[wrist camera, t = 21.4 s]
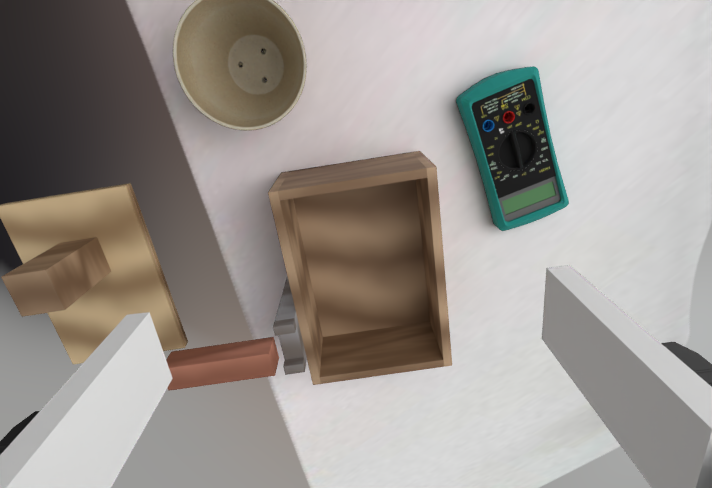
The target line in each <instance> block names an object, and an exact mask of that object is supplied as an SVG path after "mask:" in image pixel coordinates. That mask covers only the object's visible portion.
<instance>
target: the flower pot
mask: <svg viewBox="0 0 712 488" xmlns="http://www.w3.org/2000/svg"><path fill="white" fill-rule="evenodd" d="M262 49H263V52H262V53H261V50H262ZM173 61H174V67H175V72H176V75H177V78H178V80H179V83H180V85H181V87H182V89H183V91H184V93H185V94H186V96H187V97H188V99H189V100H190V101H191V103H192V104H193V105H194V106H195V107H196V108H197V109H198V110H199V111H200V112H201V113H202V114H203V115H205V116H206V117H207V118H209V119H210V120H212V121H214V122H216V123H218V124H220V125H222V126H225V127H228V128H231V129H236V130H256V129H262V128H265V127H268V126H270V125H273V124H274V123H276V122H278V121H279V120H281V119H282V118H283V117H285V116H286V115H287V114H288V113H289V112H290V111H291V110H292V108H293V107H294V106H295V104H296V103H297V101H298V99H299V97H300V95H301V93H302V90H303V87H304V83H305V79H306V68H307V65H306V54H305V49H304V45H303V41H302V38H301V36H300V34H299V31H298V30H297V28H296V26H295V24H294V22H293V21H292V19H291V18H290V17H289V15H288V14H287V13H286V12H285V11H284V10H283V9H282V8H281V7H280V6H279V5H278V4H277V3H275V2H274V1H273V0H196V1H194V2H193V3H192V4H191V5H190V6H189V7H188V9H187V10H186V11H185V13H184V14H183V16H182V17H181V19H180V21H179V23H178V26H177V29H176V32H175V36H174V42H173ZM240 65H242V67H239V66H240ZM264 78H266V79H267V81H265V79H264Z"/></svg>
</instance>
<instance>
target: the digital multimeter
mask: <svg viewBox="0 0 712 488" xmlns="http://www.w3.org/2000/svg"><path fill="white" fill-rule="evenodd" d="M456 103H457V105H458V108H459V111H460V114H461V116H462V119H463V122H464V125H465V127H466V130H467V133H468V136H469V139H470V142H471V145H472V148H473V151H474V154H475V157H476V160H477V163H478V167H479V170H480V174H481V177H482V180H483V184H484V187H485V191H486V195H487V199H488V203H489V207H490V211H491V215H492V219H493V223H494V224H495V225H496V226H497V227H498V228H499V229H500V230H502V231H505V230H509V229H512V228H515V227H519V226H522V225H525V224H528V223H531V222H533V221H536V220H539V219H541V218H543V217H546V216H548V215H550V214H552V213H554V212H556V211H559V210H561V209H563V208H565V207H566V206H567V205H568V203H569V201H568V197H567V194H566V190H565V187H564V183H563V180H562V177H561V173H560V170H559V166H558V163H557V159H556V155H555V151H554V147H553V143H552V139H551V135H550V130H549V125H548V120H547V115H546V110H545V105H544V100H543V94H542V89H541V83H540V77H539V71H538V69H537V68H536V67H525V68H519V69H512V70H508V71H504V72H500V73H496V74H494V75H492V76H489V77H487V78H485V79H483V80H481V81H479V82H478V83H476V84H475V85H473V86H471V87H470V88H469V89H467V90H466V91H465V92H463V93H462V94H461V95H459V96H458V97H457V99H456ZM475 121H476V122H475ZM516 130H517V131H516ZM524 130H525V131H524ZM478 131H479V132H478ZM527 131H528V132H527ZM486 158H487V159H486ZM510 170H511V171H510ZM518 170H519V171H518ZM494 185H495V186H494Z"/></svg>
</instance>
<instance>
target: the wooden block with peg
mask: <svg viewBox="0 0 712 488" xmlns="http://www.w3.org/2000/svg"><path fill="white" fill-rule="evenodd" d="M0 218H1V220H2V222H3V224H4V226H5V228H6V230H7V232H8V234H9V236H10V238H11V240H12V242H13V244H14V246H15V248H16V250H17V252H18V254H19V256H20V258H21V260H22V262H23V265H21V266H19V267H17V268H16V269H14V270H13V271H11V272H9V273H7V274H6V275H4V276H2V277H1V278H2V279H3V281H4V283H5V285H6V287H7V289H8V291H9V293H10V295H11V297H12V298H13V300H14V302H15V304H16V306H17V308H18V310H19V312H20V314H21V316H29V315H36V314H42V313H48V315H49V317H50V319H51V321H52V323H53V325H54V327H55V329H56V331H57V333H58V335H59V337H60V339H61V341H62V343H63V345H64V347H65V349H66V351H67V353H68V355H69V357H70V359H71V361H72V363H73V364H79V363H84V362H85V361H86V359H87V358H88V357H89V356H90V355H91V354H92V353H93V352H94V351H95V349H96V348H97V347H98V346H99V345H100V344H101V343H102V342H103V341H104V339H105V338H106V337H107V336H108V335H109V334H110V333H111V332H112V331H113V329H114V328H115V327H116V326H117V325H118V324H119V323H120V322H121V321H122V319H123V318H124V317H125V316H126V315H129V314H138V313H147V312H150V315H151V318H152V321H153V324H154V327H155V330H156V332H157V335H158V338H159V341H160V344H161V347H162V349H163V351H167V350H173V349H180V348H185V346H186V345H187V343H188V340H187V337H186V334H185V331H184V329H183V326H182V323H181V320H180V318H179V315H178V312H177V309H176V307H175V304H174V301H173V298H172V296H171V293H170V290H169V287H168V284H167V282H166V279H165V276H164V273H163V271H162V268H161V265H160V262H159V260H158V257H157V254H156V252H155V248H154V246H153V243H152V240H151V237H150V235H149V232H148V229H147V226H146V224H145V221H144V218H143V215H142V213H141V210H140V207H139V204H138V201H137V199H136V196H135V193H134V190H133V188H132V185H131V183H128V184H122V185H116V186H110V187H103V188H97V189H91V190H85V191H79V192H73V193H67V194H60V195H54V196H48V197H42V198H35V199H30V200H23V201H17V202H11V203H5V204H2V205H0Z"/></svg>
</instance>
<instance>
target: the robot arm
mask: <svg viewBox="0 0 712 488" xmlns="http://www.w3.org/2000/svg"><path fill="white" fill-rule="evenodd" d="M542 340H543V341H544V342H545V344H546V345H547V346H548V348H549V349H550V350H551V352H552V353H553V355H554V356H555V357H556V359H557V360H558V361H559V363H560V364H561V365H562V367H563V368H564V369H565V371H566V372H567V374H568V375H569V376H570V378H571V379H572V380H573V382H574V383H575V384H576V386H577V387H578V388H579V390H580V391H581V393H582V394H583V395H584V397H585V398H586V399H587V401H588V402H589V403H590V405H591V406H592V407H593V409H594V410H595V412H596V413H597V414H598V416H599V417H600V418H601V420H602V421H603V422H604V424H605V425H606V426H607V428H608V429H609V431H610V432H611V433H612V435H613V436H614V437H615V439H616V440H617V441H618V443H619V444H620V445H621V447H622V448H623V449H624V451H625V452H626V454H627V455H628V456H629V458H630V459H631V460H632V462H633V463H634V464H635V466H636V467H637V468H638V470H639V471H640V473H641V474H642V475H643V477H644V478H645V479H646V481H647V482H648V483H649V485H650V486H651V487H652V488H712V364H711V363H709V362H708V361H707V360H706V359H704V358H703V357H702V356H701V355H699V354H698V353H696V352H694V351H692V350H690V349H688V348H686V347H684V346H682V345H680V344H678V343H676V342H668V343H660V342H659V341H658V340H656V339H655V338H654V337H653V336H652V335H651V334H650V333H648V332H647V331H646V330H645V329H644V328H643V327H641V326H640V325H639V324H638V323H637V322H636V321H634V320H633V319H632V318H631V317H630V316H629V315H627V314H626V313H625V312H624V311H623V310H622V309H620V308H619V307H618V306H617V305H616V304H615V303H613V302H612V301H611V300H610V299H609V298H608V297H606V296H605V295H604V294H603V293H602V292H601V291H599V290H598V289H597V288H596V287H595V286H594V285H592V284H591V283H590V282H589V281H588V280H587V279H585V278H584V277H583V276H582V275H581V274H580V273H578V272H577V271H576V270H575V269H574V268H573V267H572V266H570V265H569V266H560V267H551V268H546V283H545V298H544V312H543V327H542ZM172 379H173V378H172V375H171V372H170V369H169V367H168V364H167V361H166V358H165V355H164V352H163V349H162V347H161V344H160V341H159V338H158V335H157V332H156V330H155V327H154V324H153V321H152V318H151V315H150V312H147V313H138V314H129V315H126V316H125V317H124V318H123V319H122V321H121V322H120V323H119V324H118V325H117V326H116V327H115V328H114V329H113V331H112V332H111V333H110V334H109V335H108V336H107V337H106V338H105V339H104V341H103V342H102V343H101V344H100V345H99V346H98V347H97V348H96V349H95V351H94V352H93V353H92V354H91V355H90V356H89V357H88V358H87V359H86V361H85V362H84V363H83V364H82V365H81V366H80V367H79V368H78V369H77V371H76V372H75V373H74V374H73V375H72V376H71V377H70V378H69V379H68V381H67V382H66V383H65V384H64V385H63V386H62V387H61V388H60V389H59V391H58V392H57V393H56V394H55V395H54V396H53V397H52V398H51V399H50V401H49V402H48V403H47V404H46V405H45V406H44V407H43V409H41V410H40V411H35V412H34V413H32V414H31V415H30V416H29V417H27V418H26V419H24V420H23V421H22V422H20V423H19V424H17V425H16V426H15V427H13V428H12V429H11V431H10V432H9V433H8V434H7V435H6V436H5V437H4V438H3V439H2V440H1V441H0V488H111V487H112V485H113V483H114V481H115V480H116V478H117V476H118V474H119V473H120V471H121V469H122V467H123V466H124V464H125V462H126V460H127V458H128V457H129V455H130V453H131V451H132V450H133V448H134V446H135V444H136V442H137V441H138V439H139V437H140V435H141V434H142V432H143V430H144V428H145V426H146V425H147V423H148V421H149V419H150V418H151V416H152V414H153V412H154V411H155V409H156V407H157V405H158V404H159V402H160V400H161V398H162V396H163V394H164V393H165V391H166V389H167V388H168V386H169V384H170V382H171V380H172Z"/></svg>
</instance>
